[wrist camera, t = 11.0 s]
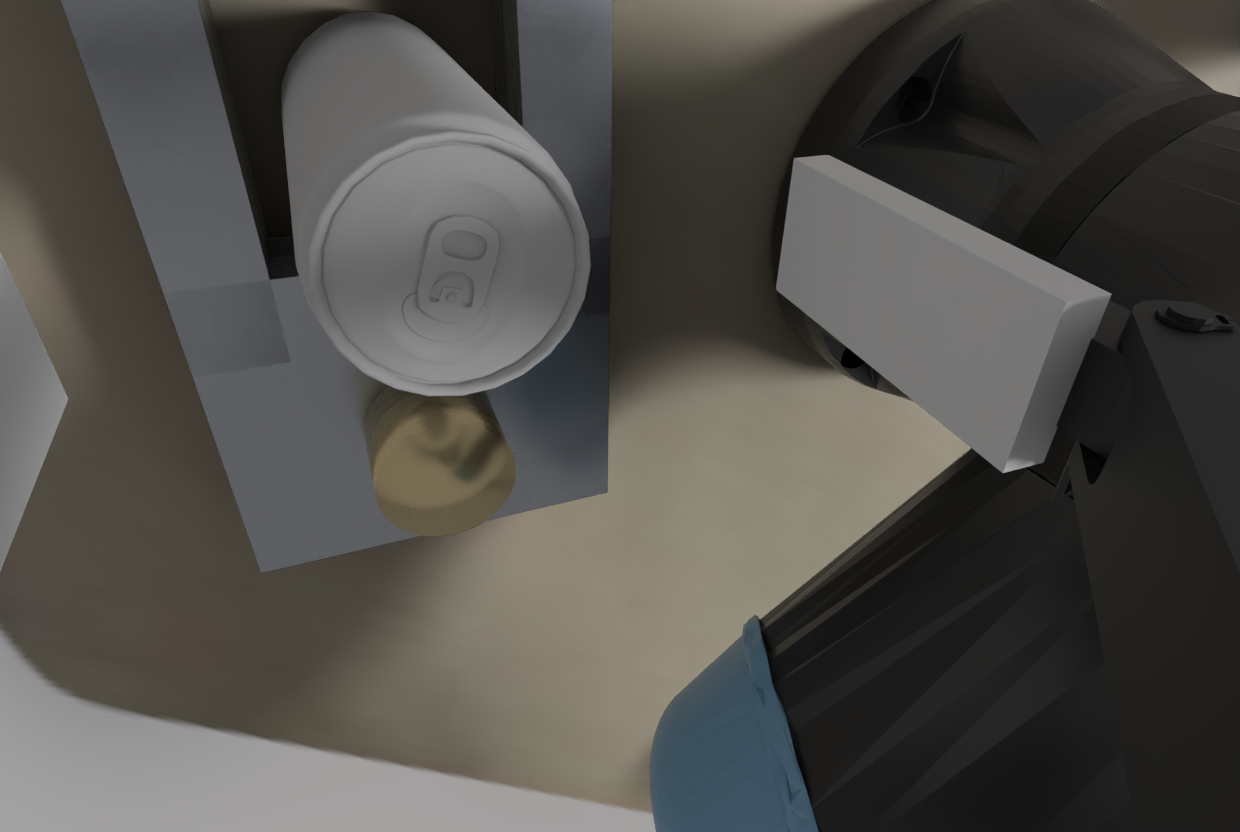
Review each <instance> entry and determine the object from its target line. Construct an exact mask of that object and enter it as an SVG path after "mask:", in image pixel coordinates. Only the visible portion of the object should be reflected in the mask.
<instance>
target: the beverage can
mask: <svg viewBox="0 0 1240 832" xmlns="http://www.w3.org/2000/svg"><path fill="white" fill-rule="evenodd" d="M281 113H282V123H283V134H284V145H285V155H286V166H287V176H288V187H289V198H290V208H291V219H292V230H293V240H294V251H295V261H296V267H297V270H298V274H299V277H300V280H301V284H302V287H303V290H304V293H305V297H306V300H307V303H308V305H309V307H310V308H311V310H312V311H313V313H314V314H315V316H316V317H317V320H318V322H319V323H320V325H321V326H322V328H323V329H324V331H325V332H326V334H327V335H328V337H329V338H330V340H331V341H332V343H333V344H334V346H335V347H336V349H337V350H338V351H339V352H340V353H341V354H342V355H343V356H344V357H345V358H347V359H348V360H349V361H350V362H351V363H352V364H354V365H355V366H356V367H357V368H358V369H359V370H360V371H362V372H363V373H364V374H366V375H368V376H370V377H372V378H374V379H376V380H378V381H380V382H382V383H384V384H386V385H388V386H391V387H393V388H395V389H399V390H403V391H408V392H412V393H417V394H421V395H426V396H463V395H467V394H472V393H476V392H480V391H485V390H489V389H493V388H496V387H498V386H500V385H502V384H504V383H506V382H509V381H511V380H513V379H515V378H517V377H519V376H521V375H523V374H525V373H526V372H527V371H529V370H530V369H531V368H533V367H534V366H535V365H536V364H538V363H539V362H540V361H541V360H543V359H544V358H545V357H547V356H548V355H549V354H550V353H551V352H552V351H553V350H554V348H555V347H556V346H557V345H558V343H559V342H560V341H561V340H562V338H563V337H564V336H565V335H566V333H567V332H568V331H569V330H570V328H571V326H572V324H573V322H574V320H575V318H576V316H577V314H578V312H579V310H580V308H581V305H582V303H583V301H584V299H585V294H586V289H587V284H588V279H589V274H590V268H591V264H590V248H589V234H588V231H587V229H586V226H585V223H584V220H583V217H582V215H581V212H580V209H579V206H578V203H577V201H576V199H575V196H574V193H573V190H572V187H571V185H570V183H569V182H568V180H567V179H566V178H565V176H564V175H563V173H562V172H561V170H560V169H559V167H558V166H557V165H556V163H555V162H554V160H553V159H552V157H551V156H550V155H549V153H548V152H547V151H546V150H545V149H544V148H543V147H542V146H541V145H540V144H539V143H538V142H537V141H536V140H535V139H534V138H533V137H532V136H531V135H530V134H529V133H528V132H527V131H526V130H525V129H524V128H523V127H522V126H521V125H519V124H518V123H517V122H516V121H515V120H514V119H513V118H512V117H511V116H510V115H509V114H508V113H507V112H506V111H505V110H504V109H503V108H502V107H501V106H500V105H499V104H498V103H497V102H496V101H495V100H494V99H493V98H492V97H491V96H490V95H489V94H488V93H487V92H486V91H485V90H484V89H483V88H482V87H481V86H480V85H479V84H478V83H477V82H475V81H474V80H473V79H472V78H471V77H470V76H469V75H468V74H467V73H466V72H465V71H464V70H463V69H462V68H461V67H460V66H459V65H458V64H457V63H456V62H455V61H454V60H453V59H452V58H451V57H450V56H449V55H448V54H447V53H446V52H445V51H444V50H443V49H442V48H441V47H440V46H439V45H438V44H437V43H436V42H435V41H434V40H432V39H431V38H430V37H429V36H428V35H426V34H425V33H424V32H423V31H422V30H421V29H419V28H418V27H417V26H415V25H413V24H411V23H409V22H407V21H405V20H403V19H401V18H398V17H396V16H394V15H390V14H384V13H378V12H373V11H364V12H356V13H347V14H344V15H342V16H339V17H337V18H335V19H333V20H331V21H328V22H326V23H324V24H323V25H321V26H320V27H319V28H318V29H317V30H315V31H314V32H313V33H312V34H311V35H310V36H308V37H307V38H306V39H305V40H304V41H303V43H302V44H301V45H300V47H299V48H298V50H297V51H296V52H295V54H294V55H293V56H292V58H291V59H290V61H289V64H288V67H287V69H286V72H285V75H284V78H283V80H282V83H281Z"/></svg>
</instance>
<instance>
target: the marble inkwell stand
mask: <svg viewBox="0 0 1240 832" xmlns="http://www.w3.org/2000/svg"><path fill="white" fill-rule="evenodd" d="M61 3H62V6H63V8H64V11H65V14H66V17H67V20H68V23H69V25H70V28H71V31H72V34H73V37H74V40H75V43H76V45H77V48H78V51H79V54H80V57H81V60H82V63H83V65H84V68H85V71H86V74H87V77H88V80H89V83H90V85H91V88H92V91H93V94H94V97H95V100H96V103H97V105H98V108H99V111H100V114H101V117H102V120H103V123H104V125H105V128H106V131H107V134H108V137H109V140H110V143H111V145H112V148H113V151H114V154H115V157H116V160H117V163H118V165H119V168H120V171H121V174H122V177H123V180H124V183H125V185H126V188H127V191H128V194H129V197H130V200H131V203H132V205H133V208H134V211H135V214H136V217H137V220H138V223H139V225H140V228H141V231H142V234H143V237H144V240H145V243H146V245H147V248H148V251H149V254H150V257H151V260H152V263H153V265H154V268H155V271H156V274H157V277H158V280H159V283H160V285H161V288H162V291H163V294H164V297H165V300H166V303H167V305H168V308H169V311H170V314H171V317H172V320H173V323H174V325H175V328H176V331H177V334H178V337H179V340H180V343H181V345H182V348H183V351H184V354H185V357H186V360H187V363H188V365H189V368H190V371H191V374H192V377H193V380H194V383H195V385H196V388H197V391H198V394H199V397H200V400H201V403H202V405H203V408H204V411H205V414H206V417H207V420H208V423H209V425H210V428H211V431H212V434H213V437H214V440H215V443H216V445H217V448H218V451H219V454H220V457H221V460H222V463H223V465H224V468H225V471H226V474H227V477H228V480H229V483H230V485H231V488H232V491H233V494H234V497H235V500H236V503H237V505H238V508H239V511H240V514H241V517H242V520H243V523H244V525H245V528H246V531H247V534H248V537H249V540H250V543H251V545H252V548H253V551H254V554H255V557H256V560H257V563H258V565H259V568H260V571H261V573H264V572H268V571H272V570H277V569H281V568H285V567H290V566H294V565H298V564H302V563H307V562H311V561H315V560H320V559H324V558H328V557H332V556H337V555H341V554H345V553H350V552H354V551H358V550H362V549H367V548H371V547H375V546H380V545H384V544H388V543H392V542H397V541H401V540H405V539H410V538H414V537H418V536H447V535H452V534H457V533H460V532H464V531H466V530H469V529H471V528H474V527H476V526H478V525H480V524H481V523H483V522H484V521H487V520H491V519H495V518H500V517H504V516H508V515H513V514H517V513H521V512H525V511H530V510H534V509H538V508H543V507H547V506H551V505H555V504H560V503H564V502H568V501H573V500H577V499H581V498H586V497H590V496H594V495H598V494H603V493H607V491H608V408H609V324H610V240H611V157H612V73H613V0H490V13H491V28H492V42H493V57H494V71H495V86H496V100H497V103H498V104H499V105H500V106H501V107H502V108H503V109H504V110H505V111H506V112H507V113H508V114H509V115H510V116H511V117H512V118H513V119H514V120H515V121H516V122H517V123H518V124H519V125H521V126H522V127H523V128H524V129H525V130H526V131H527V132H528V133H529V134H530V135H531V136H532V137H533V138H534V139H535V140H536V141H537V142H538V143H539V144H540V145H541V146H542V147H543V148H544V149H545V150H546V151H547V152H548V153H549V155H550V156H551V157H552V159H553V160H554V162H555V163H556V165H557V166H558V167H559V169H560V170H561V172H562V173H563V175H564V176H565V178H566V179H567V180H568V182H569V183H570V185H571V187H572V190H573V193H574V196H575V199H576V201H577V203H578V206H579V209H580V212H581V215H582V217H583V220H584V223H585V226H586V229H587V231H588V234H589V248H590V264H591V268H590V274H589V279H588V284H587V289H586V294H585V299H584V301H583V303H582V305H581V308H580V310H579V312H578V314H577V316H576V318H575V320H574V322H573V324H572V326H571V328H570V330H569V331H568V332H567V333H566V335H565V336H564V337H563V338H562V340H561V341H560V342H559V343H558V345H557V346H556V347H555V348H554V350H553V351H552V352H551V353H550V354H549V355H548V356H547V357H545V358H544V359H543V360H541V361H540V362H539V363H538V364H536V365H535V366H534V367H533V368H531V369H530V370H529V371H527V372H526V373H525V374H523V375H521V376H519V377H517V378H515V379H513V380H511V381H509V382H506V383H504V384H502V385H500V386H498V387H496V388H493V389H489V390H485V391H480V392H476V393H472V394H467V395H463V396H426V395H421V394H417V393H412V392H408V391H403V390H399V389H395V388H393V387H391V386H388V385H386V384H384V383H382V382H380V381H378V380H376V379H374V378H372V377H370V376H368V375H366V374H364V373H363V372H362V371H360V370H359V369H358V368H357V367H356V366H355V365H354V364H352V363H351V362H350V361H349V360H348V359H347V358H345V357H344V356H343V355H342V354H341V353H340V352H339V351H338V350H337V349H336V347H335V346H334V344H333V343H332V341H331V340H330V338H329V337H328V335H327V334H326V332H325V331H324V329H323V328H322V326H321V325H320V323H319V322H318V320H317V317H316V316H315V314H314V313H313V311H312V310H311V308H310V307H309V305H308V303H307V300H306V297H305V293H304V290H303V287H302V284H301V280H300V277H299V274H298V270H297V267H296V261H295V251H294V240H293V235H291V236H282V237H273V238H268V234H267V230H266V226H265V222H264V218H263V214H262V210H261V206H260V202H259V198H258V194H257V191H256V187H255V183H254V179H253V175H252V171H251V167H250V163H249V159H248V155H247V151H246V147H245V143H244V139H243V135H242V131H241V127H240V123H239V119H238V116H237V112H236V108H235V104H234V100H233V96H232V92H231V88H230V84H229V80H228V76H227V72H226V68H225V64H224V60H223V56H222V52H221V48H220V44H219V41H218V37H217V33H216V29H215V25H214V21H213V17H212V13H211V9H210V5H209V1H208V0H61Z"/></svg>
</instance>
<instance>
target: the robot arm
mask: <svg viewBox="0 0 1240 832" xmlns="http://www.w3.org/2000/svg"><path fill="white" fill-rule="evenodd" d="M773 269H774V277H775V283H776V290H777V292H778V295H779V299H780V302H781V305H782V307H783V310H784V312H785V314H786V316H787V318H788V320H789V322H790V323H791V325H792V326H793V328H794V330H795V331H796V332H797V333H798V335H799V336H800V337H801V338H802V339H803V340H804V341H805V342H806V343H807V344H808V345H809V346H810V347H811V348H812V349H813V350H815V351H816V352H817V353H818V354H819V355H820V356H822V357H823V358H824V359H825V360H826V361H827V362H828V363H830V364H831V365H832V366H833V367H834V368H836V369H837V370H838V371H839V372H841V373H842V374H844V375H846V376H847V377H849V378H851V379H852V380H854V381H856V382H858V383H860V384H862V385H865V386H868V387H870V388H873V389H876V390H879V391H883V392H886V393H889V394H892V395H895V396H898V397H901V398H905V399H908V400H911V401H914V402H915V403H917V404H918V405H919V406H920V407H922V408H923V409H924V410H925V411H927V412H928V413H929V414H930V415H932V416H933V417H934V418H935V419H936V420H938V421H939V422H940V423H941V424H943V425H944V426H945V427H946V428H948V429H949V430H950V431H951V432H953V433H954V434H955V435H956V436H957V437H959V438H960V439H961V440H962V441H964V442H965V443H966V444H967V445H969V446H970V447H971V449H970V450H968V451H967V452H966V453H964V454H963V455H962V456H961V457H960V458H958V459H957V460H956V461H955V462H953V463H952V464H951V465H950V466H948V467H947V468H946V469H945V470H944V471H942V472H941V473H940V474H939V475H937V476H936V477H935V478H934V479H933V480H931V481H930V482H929V483H928V484H926V485H925V486H924V487H923V488H921V489H920V490H919V491H918V492H917V493H915V494H914V495H913V496H912V497H910V498H909V499H908V500H907V501H905V502H904V503H903V504H902V505H901V506H899V507H898V508H897V509H896V510H894V511H893V512H892V513H891V514H890V515H888V516H887V517H886V518H885V519H883V520H882V521H881V522H880V523H878V524H877V525H876V526H875V527H874V528H872V529H871V530H870V531H869V532H867V533H866V534H865V535H864V536H862V537H861V538H860V539H859V540H858V541H856V542H855V543H854V544H853V545H851V546H850V547H849V548H848V549H847V550H845V551H844V552H843V553H842V554H840V555H839V556H838V557H837V558H835V559H834V560H833V561H832V562H831V563H829V564H828V565H827V566H826V567H824V568H823V569H822V570H821V571H819V572H818V573H817V574H816V575H815V576H813V577H812V578H811V579H810V580H808V581H807V582H806V583H805V584H804V585H802V586H801V587H800V588H799V589H797V590H796V591H795V592H794V593H792V594H791V595H790V596H789V597H788V598H786V599H785V600H784V601H783V602H781V603H780V604H779V605H778V606H776V607H775V608H774V609H773V610H772V611H770V612H769V613H768V614H767V615H765V616H764V617H763V618H762V619H759V618H758V616H756V615H755V616H753V617H752V618H751V619H749V620H748V622H747V623H746V624H745V625H744V626H743V633H742V636H741V637H740V638H739V639H738V640H737V641H735V642H734V643H733V644H732V645H731V646H730V647H729V648H728V649H727V650H726V651H724V652H723V653H722V654H721V655H720V656H719V657H718V658H717V659H716V660H715V661H714V662H712V663H711V664H710V665H709V666H708V667H707V668H706V669H705V670H704V671H703V672H702V673H700V674H699V675H698V676H697V677H696V678H695V679H694V680H693V681H692V682H691V683H689V684H688V685H687V686H686V687H685V688H684V689H683V690H682V691H681V692H680V693H679V694H677V695H676V696H675V697H674V699H673V700H672V701H671V702H670V704H669V705H668V707H667V708H666V710H665V711H664V713H663V715H662V717H661V719H660V721H659V724H658V726H657V729H656V732H655V736H654V740H653V745H652V752H651V760H650V791H651V803H652V811H653V817H654V823H655V829H656V832H1240V97H1236V96H1232V95H1228V94H1224V93H1220V92H1217V91H1215V90H1213V89H1212V88H1210V87H1209V86H1208V85H1206V84H1205V83H1204V82H1202V81H1201V80H1200V79H1198V78H1197V77H1196V76H1194V75H1193V74H1192V73H1190V72H1189V71H1188V70H1186V69H1185V68H1184V67H1182V66H1181V65H1180V64H1178V63H1177V62H1176V61H1174V60H1173V59H1172V58H1170V57H1169V56H1168V55H1166V54H1165V53H1164V52H1162V51H1161V50H1160V49H1158V48H1157V47H1155V46H1154V45H1153V44H1151V43H1150V42H1149V41H1147V40H1146V39H1145V38H1143V37H1142V36H1141V35H1139V34H1138V33H1137V32H1135V31H1134V30H1133V29H1131V28H1130V27H1129V26H1127V25H1126V24H1125V23H1123V22H1122V21H1121V20H1119V19H1118V18H1117V17H1115V16H1114V15H1113V14H1111V13H1110V12H1109V11H1107V10H1105V9H1104V8H1102V7H1100V6H1099V5H1097V4H1095V3H1093V2H1090V1H1088V0H935V1H933V2H931V3H929V4H927V5H925V6H923V7H922V8H920V9H918V10H916V11H915V12H913V13H911V14H910V15H908V16H907V17H905V18H904V19H902V20H901V21H899V22H898V23H897V24H895V25H894V26H893V27H892V28H890V29H889V30H888V31H886V32H885V33H884V34H883V35H882V36H880V37H879V38H878V39H877V40H876V41H875V42H874V43H872V44H871V45H870V46H869V47H868V48H867V49H866V50H865V51H864V52H863V53H862V54H861V55H860V56H859V57H858V58H857V59H856V60H855V62H854V63H853V64H852V65H851V66H850V67H849V68H848V69H847V70H846V72H845V73H844V74H843V75H842V77H841V78H840V79H839V80H838V81H837V83H836V84H835V85H834V87H833V88H832V89H831V91H830V92H829V94H828V95H827V96H826V98H825V99H824V101H823V102H822V104H821V105H820V107H819V109H818V110H817V112H816V113H815V115H814V117H813V118H812V120H811V122H810V124H809V125H808V127H807V129H806V131H805V133H804V135H803V137H802V139H801V141H800V143H799V145H798V147H797V149H796V152H795V154H794V156H793V159H792V161H791V164H790V166H789V169H788V172H787V175H786V177H785V181H784V184H783V187H782V191H781V194H780V199H779V203H778V207H777V212H776V218H775V225H774V234H773ZM67 402H68V397H67V395H66V392H65V390H64V388H63V386H62V384H61V382H60V379H59V377H58V375H57V373H56V371H55V369H54V366H53V364H52V362H51V360H50V358H49V356H48V353H47V351H46V349H45V347H44V345H43V343H42V340H41V338H40V336H39V334H38V332H37V329H36V327H35V325H34V323H33V321H32V319H31V316H30V314H29V312H28V310H27V308H26V306H25V303H24V301H23V299H22V297H21V295H20V293H19V290H18V288H17V286H16V284H15V282H14V280H13V277H12V275H11V273H10V271H9V269H8V266H7V264H6V262H5V260H4V258H3V256H2V253H1V251H0V571H1V569H2V566H3V564H4V561H5V559H6V556H7V554H8V551H9V549H10V546H11V543H12V541H13V538H14V536H15V533H16V531H17V528H18V526H19V523H20V521H21V518H22V516H23V513H24V511H25V508H26V505H27V503H28V500H29V498H30V495H31V493H32V490H33V488H34V485H35V483H36V480H37V478H38V475H39V473H40V470H41V467H42V465H43V462H44V460H45V457H46V455H47V452H48V450H49V447H50V445H51V442H52V440H53V437H54V435H55V432H56V429H57V427H58V424H59V422H60V419H61V417H62V414H63V412H64V409H65V407H66V404H67Z"/></svg>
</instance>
